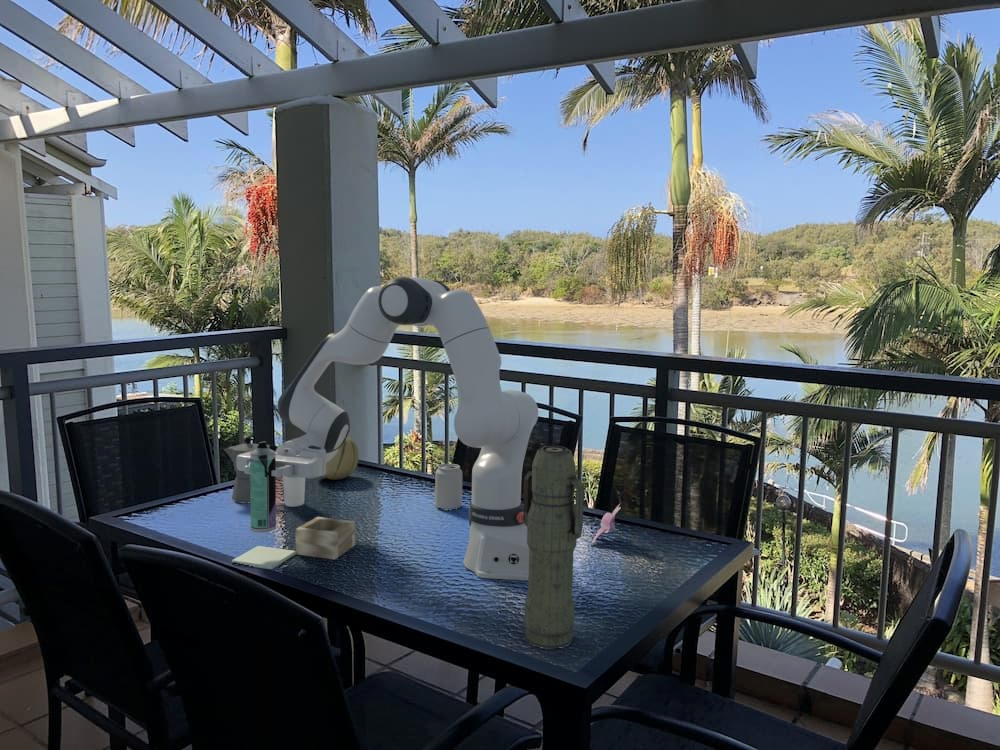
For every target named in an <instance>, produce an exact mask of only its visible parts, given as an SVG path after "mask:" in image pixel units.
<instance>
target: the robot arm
mask: <svg viewBox="0 0 1000 750" xmlns="http://www.w3.org/2000/svg"><path fill="white" fill-rule="evenodd" d="M485 317H486V316H485V315H484V314H483V311H482V309H481V307H480V306H479V304H478V302H477V301H476V299H475V298H474V296H473V294H472V293H470V292H469V291H468V290H465V289H451V288H450V287H448V286H447V285H446V284H444V283H443V282H441V281H439V280H433V279H432V280H431V279H427V278H424V277H418V276H417V277H416V276H415V277H413V276H411V277H406V276H400V277H395V278H393V279H390V280H388V281H387V282H386V283H385V284H383V286H381V285H379V286H377V285H376V286H372V287H370V288H369V289H367V290H366V291H365V292H364V294H363V295H362V296H361V298H359V301H358V302H357V304H356V305H355V307H354V308H353V310H352V312H351V314H350V316H349V318H348V320H347V322H346V324H345V325H344V327H343V328H342V329H341V330H340V331H338V332H332V333H329V334H328V335H327V336H326V337H324V338H323V340H321V341H320V343H319V344H318V346H316V348H315V349H314V351H313V352H312V353H311V355H310V356H309V358H308V359H307V360H306V362H305V364H304V365H303V366H302V368H301V369H300V370H299V372H298V373H297V375H296V376H295V378H294V379H293V380H292V382H291V383H290V384H288V386H287V387H286V389H285V390H284V391H283V392H282V393H281V395H280V396H279V398H278V401H277V409H278V410H277V411H278V414H279V417H280V419H282V420H284V421H285V422H287V423H289V424H290V425H293V426H295V427H297V428H299V429H300V430H301V431H303V432H304V433H305V434H304V435H302V436H299V437H295V438H292V439H290V440H287V441H285V442H282V443H280V444H279V445H278V446H277V449H276V451H275V460H276V468H274V469H272V470H271V473H272V474H271V476H272V477H276V478H280V477H282V476H286V477H288V478H296V477H300V478H306V479H315V478H318V477H324V476H323V475H325V474H326V463H328V462H329V461H330V460H331V459H332V458H333V457H334V456H335V455H336V454H337V452H338V450H339V448H340V447H341V445H342V444H343V443H344V441H345V439H346V438H347V437H348V435H349V433H350V429H351V424H350V423H351V421H350V415H349V413H348V412H347V411H345V409H343V408H342V407H340V406H339V405H337V404H335V403H334V402H333V401H330V400H328V399H327V398H326V397H324V396H322V395H321V394H320V393H318V392H317V391H316V390H315V384H316V383H317V382H318V380H319V379H320V377H321V376H322V375H323V373H324V372H325V370H326V369H327V368H328V367H329V365H330V364H331V363H332V362H338V363H344V364H348V365H355V366H365V365H370V364H374V363H375V362H378V360H380V359H381V358H382V357H383V356H384V354H385V352H386V351H387V349H388V347H389V346H390V343H391V341H392V339H393V337H394V334H395V332H396V331H397V328H398V327H399V326H400V325H401V326H414V327H427V326H433V327H434V328H435V329H436V331H437V333H438V335H439V338H440V340H441V342H442V346H443V348H444V351H445V354H446V356H447V359H448V362H449V364H450V367H451V370H452V373H453V377H454V379H455V385H456V392H457V410H456V412H455V415H454V418H453V428H454V432H455V434H456V436H457V438H458V439H459V441H460V442H461V443H463V444H464V445H466V446H467V447H470V448H477V449H478V448H479V449H480V448H481V449H480V452H479V455H478V457H477V459H476V461H474V464H473V467H472V471H471V501H470V502H469V508H468V521H469V522H468V523H469V535H468V542H467V548H466V552H465V555H464V558H463V561H462V563H463V565H464V567H465V568H467V569H468V570H469V571H471V572H473V573H475V575H476V576H477V577H478V578H482V579H492V580H493V579H494V580H507V581H508V580H511V581H527V582H528V580H529V547H528V544H527V526H526V525H525V523H524V522H523V515H524V503H523V502H522V501H521V499H522V475H523V473H522V472H523V466H524V460H525V456H526V452H527V448H528V445H529V440H530V437H531V434H532V432H533V431H532V430H533V428H534V426H535V425H536V424H537V421H538V418H539V406H538V405H537V404H538V403H536V400H535V399H534V398H533V397H532V396H531V395H530V394H528V393H527V392H523V391H521V390H513V389H510V390H502V387H501V381H500V380H501V379H500V370H501V369H500V368H501V366H502V357H501V355H500V352H499V349H498V346H497V344H496V341H495V339H494V337H493V334H492V332H491V329H490V326H489V324H488V321H487V320H486V318H485ZM250 452H252V451H250ZM250 452H246V453H243V454H239V455H238V456H237V459H236V465H237V469H238V470H239V471H244V472H245V474H250V455H251V454H250Z"/></svg>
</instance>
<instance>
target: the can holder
mask: <svg viewBox="0 0 1000 750" xmlns="http://www.w3.org/2000/svg"><path fill="white" fill-rule="evenodd" d="M353 546H354V547H355V546H356V521H355V520H347V519H340V518H334V517H333V518H330V517H323V516H316V517H314V518H313V519H311V520H309V521H307V522H305V523H304V524H302V525H300V526H298V527H297V528H295V551H296V554H295V555H299V556H306V557H313V558H320V559H321V558H322V559H327V560H334V561H335V560H336V559H338V558H339V557H341V556H342V555H343V554H345V553H346V552H348V551H350V550H351V549H353ZM350 548H351V549H350Z"/></svg>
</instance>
